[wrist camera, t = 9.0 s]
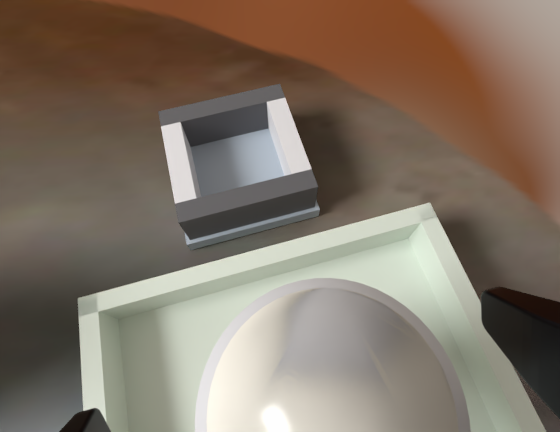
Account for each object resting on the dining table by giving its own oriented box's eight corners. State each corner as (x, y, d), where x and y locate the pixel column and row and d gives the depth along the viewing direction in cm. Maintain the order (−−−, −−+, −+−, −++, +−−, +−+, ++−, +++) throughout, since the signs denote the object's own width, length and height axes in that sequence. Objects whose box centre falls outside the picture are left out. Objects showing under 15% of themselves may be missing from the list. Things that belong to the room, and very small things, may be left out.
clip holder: (318, 216, 20) (323, 189, 17) (190, 249, 19) (174, 227, 17) (283, 117, 23) (282, 80, 20) (170, 143, 22) (154, 109, 19)
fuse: (360, 397, 16) (528, 424, 5) (299, 462, 15) (330, 687, 4) (303, 332, 17) (330, 232, 6) (243, 390, 16) (141, 398, 5)
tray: (536, 492, 15) (588, 515, 12) (134, 639, 13) (97, 699, 11) (411, 226, 20) (429, 202, 17) (107, 310, 18) (77, 298, 16)
